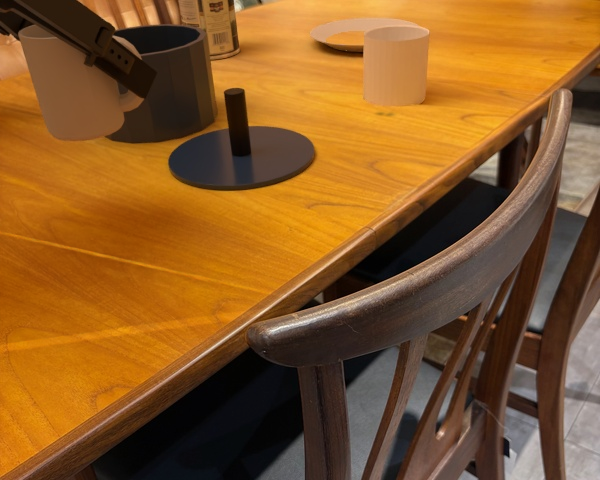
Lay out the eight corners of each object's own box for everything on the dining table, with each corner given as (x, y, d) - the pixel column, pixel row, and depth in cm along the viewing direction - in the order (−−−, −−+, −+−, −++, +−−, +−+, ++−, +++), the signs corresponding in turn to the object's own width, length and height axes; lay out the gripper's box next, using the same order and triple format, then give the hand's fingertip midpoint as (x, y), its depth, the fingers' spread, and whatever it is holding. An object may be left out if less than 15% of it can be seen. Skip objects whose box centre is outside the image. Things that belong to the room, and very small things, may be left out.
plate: (391, 24, 127) (391, 12, 126) (440, 47, 111) (441, 34, 110) (296, 38, 123) (295, 26, 121) (333, 64, 106) (333, 51, 105)
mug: (415, 112, 85) (419, 42, 80) (354, 106, 89) (354, 39, 83) (437, 86, 94) (442, 21, 88) (381, 81, 97) (382, 18, 92)
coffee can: (211, 43, 123) (201, -36, 114) (251, 49, 118) (242, -34, 109) (174, 56, 116) (160, -27, 108) (214, 63, 111) (203, -24, 103)
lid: (140, 182, 72) (123, 109, 67) (217, 128, 85) (208, 63, 80) (275, 205, 66) (268, 126, 60) (336, 142, 78) (335, 73, 73)
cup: (55, 118, 61) (27, 22, 56) (156, 108, 62) (138, 13, 57) (41, 145, 55) (9, 41, 50) (153, 135, 56) (133, 31, 51)
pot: (75, 139, 84) (50, 52, 78) (146, 100, 96) (130, 22, 90) (175, 153, 78) (158, 60, 72) (238, 110, 90) (228, 27, 84)
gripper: (-217, -61, 45) (43, 94, 64) (-94, -48, 34) (175, 135, 53) (-175, -154, 45) (72, 29, 64) (-38, -172, 34) (211, 57, 53)
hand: (119, 77), depth 59 cm, fingers closed on cup, 8 cm apart
